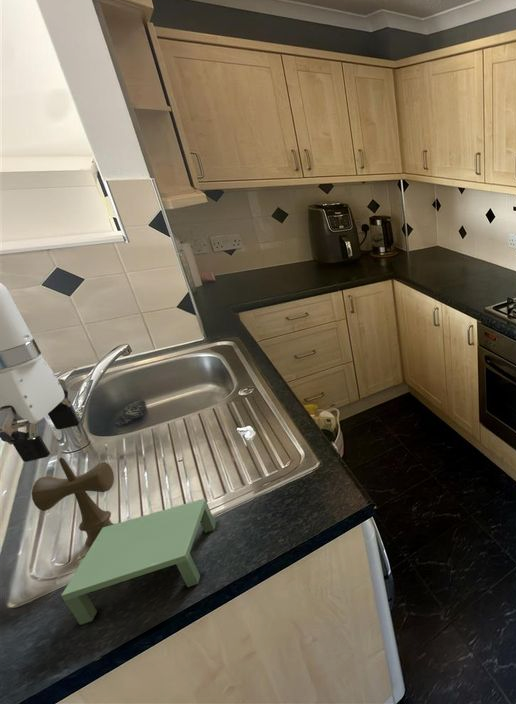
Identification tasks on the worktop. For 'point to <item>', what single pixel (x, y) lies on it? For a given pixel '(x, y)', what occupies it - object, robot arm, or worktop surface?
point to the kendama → (77, 495)
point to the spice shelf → (138, 553)
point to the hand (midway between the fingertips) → (54, 441)
